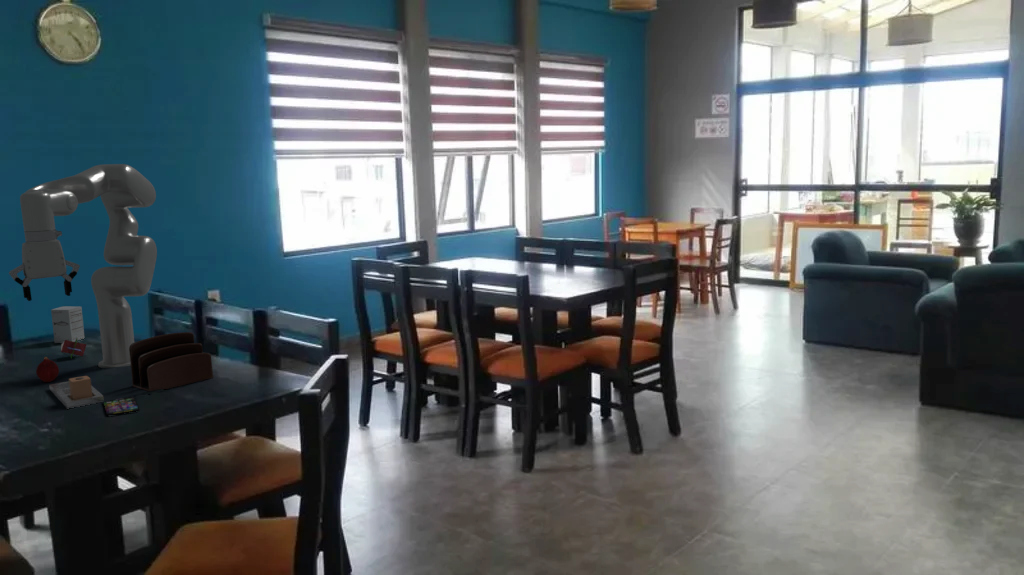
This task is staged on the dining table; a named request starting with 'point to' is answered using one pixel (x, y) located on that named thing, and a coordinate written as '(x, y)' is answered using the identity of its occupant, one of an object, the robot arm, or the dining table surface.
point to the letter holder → (168, 362)
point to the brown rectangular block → (80, 387)
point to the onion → (47, 370)
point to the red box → (73, 348)
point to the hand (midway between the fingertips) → (48, 297)
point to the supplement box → (67, 323)
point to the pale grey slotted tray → (65, 397)
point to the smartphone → (121, 406)
